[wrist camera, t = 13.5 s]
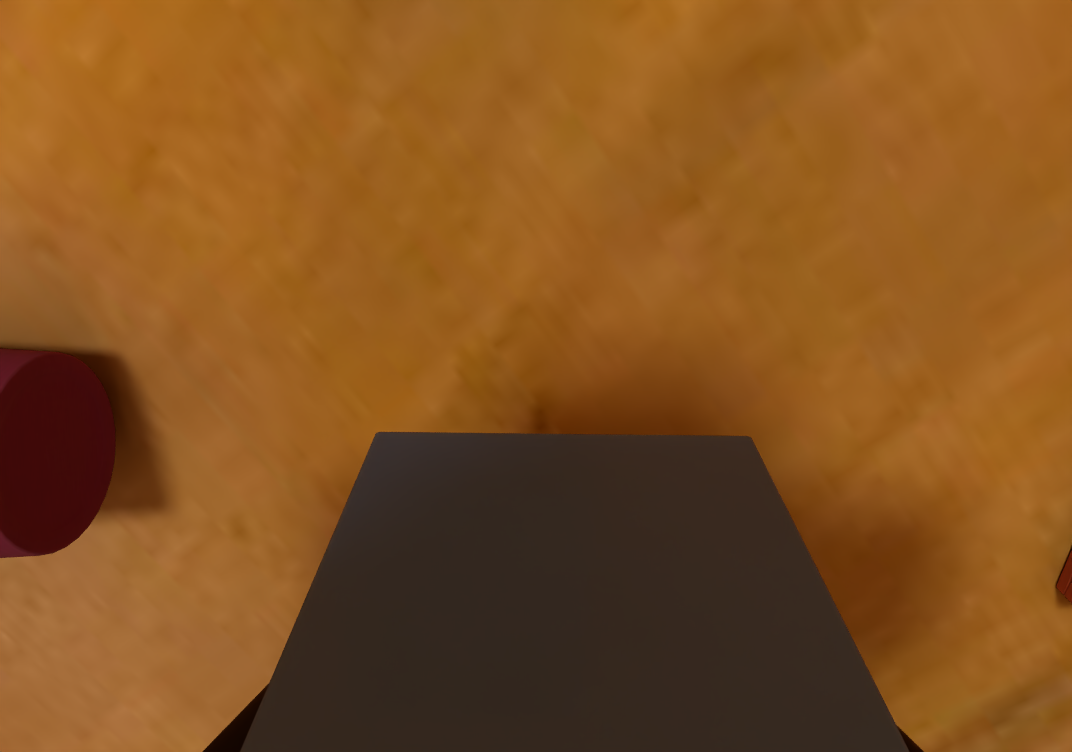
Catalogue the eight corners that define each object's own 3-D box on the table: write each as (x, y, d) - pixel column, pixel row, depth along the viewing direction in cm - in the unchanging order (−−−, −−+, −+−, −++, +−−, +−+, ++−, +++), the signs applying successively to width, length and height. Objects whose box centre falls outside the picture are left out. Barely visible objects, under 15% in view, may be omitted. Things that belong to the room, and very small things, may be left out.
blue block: (708, 696, 11) (811, 1122, 7) (405, 690, 11) (313, 1112, 7) (750, 434, 9) (943, 813, 5) (375, 429, 9) (215, 800, 5)
